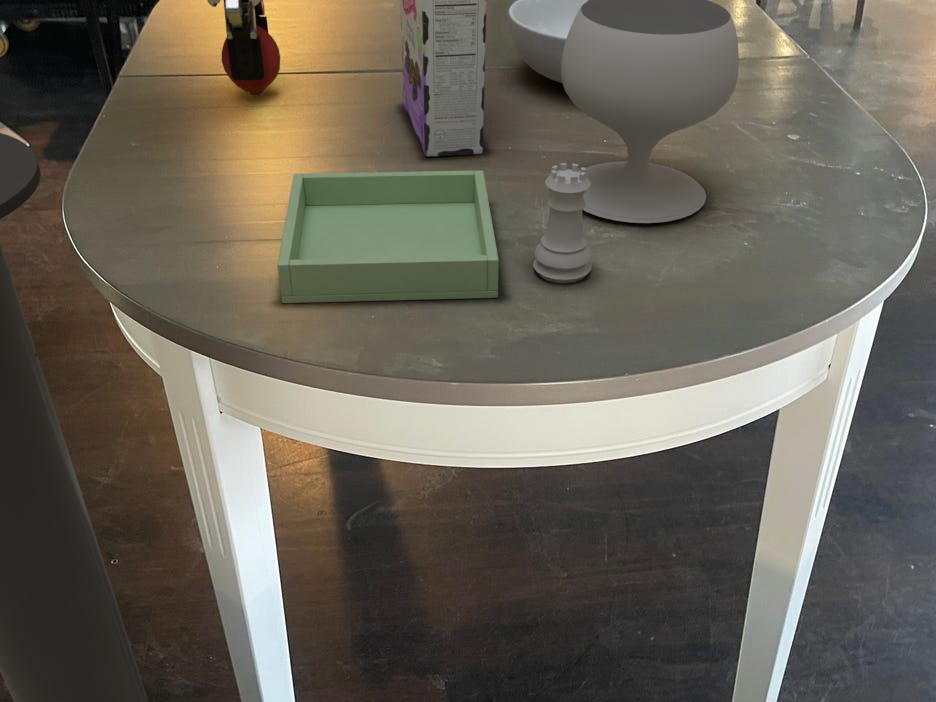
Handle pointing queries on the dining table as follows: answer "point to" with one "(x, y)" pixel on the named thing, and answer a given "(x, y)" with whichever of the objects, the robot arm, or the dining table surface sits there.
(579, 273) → the rook chess piece
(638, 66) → the chalice
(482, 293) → the tray
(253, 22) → the robot arm
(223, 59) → the onion
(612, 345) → the dining table surface
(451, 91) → the candy box
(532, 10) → the serving bowl
